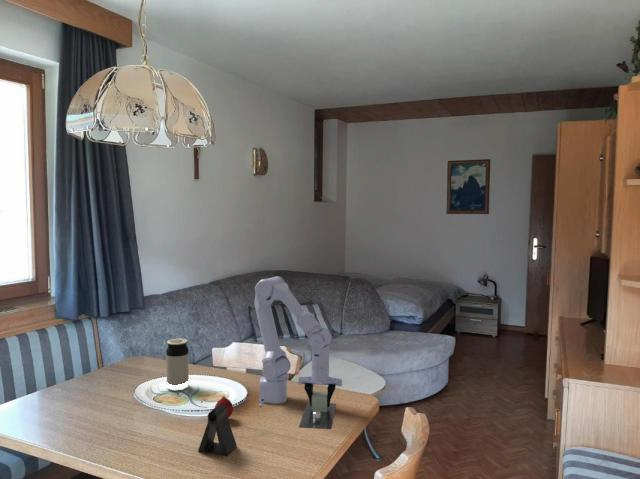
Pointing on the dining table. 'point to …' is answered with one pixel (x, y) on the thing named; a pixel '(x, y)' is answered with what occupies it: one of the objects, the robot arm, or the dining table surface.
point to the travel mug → (177, 361)
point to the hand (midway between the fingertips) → (320, 405)
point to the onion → (227, 404)
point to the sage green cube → (319, 401)
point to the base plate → (324, 418)
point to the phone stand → (218, 433)
